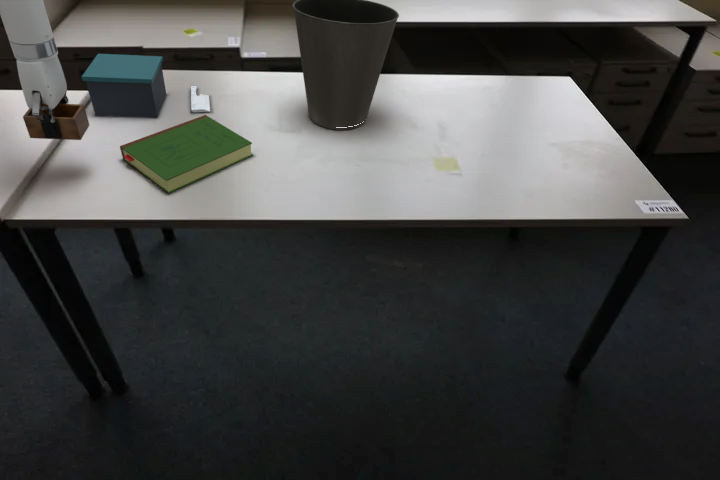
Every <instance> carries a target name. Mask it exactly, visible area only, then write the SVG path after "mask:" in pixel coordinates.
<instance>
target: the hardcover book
mask: <svg viewBox="0 0 720 480" xmlns="http://www.w3.org/2000/svg"><path fill="white" fill-rule="evenodd" d="M252 144H253V143H252V141H250V140H248V139H247V138H245V137H243V136H241V135H240V134H239V133H237V132H235V131H233V130H231V129H230V128H228V127H226V126H225V125H223V124H222V123H220V122H218V121H217V120H215V119H214V118H212V117H210V116H208V115H207V114H203V115H201V116H198V117H195V118H193V119H190V120H188V121H185V122H182V123H179V124H176V125H174V126H172V127H169V128H166V129H163V130H160V131H156V132H154V133H152V134H150V135H146V136H144V137H141V138H139V139H135V140H132V141H129V142H127V143H125V144H122V145H119V149H120V152H121V157H122V160H123V161H124V162H125V163H127V164H128V165H129V166H131V167H132V168H133V169H135V170H136V171H137V172H139V173H140V174H142V176H144V177H146V178H147V179H148V180H150V181H151V182H152V183H153V184H155V185H156V186H157V187H159V188H160V189H162V190H163V191H164V192H166V193H167V194H172V193H174V192H175V191H178V190H180V189H182V188H184V187H187V186H189V185H191V184H193V183H196V182H198V181H200V180H202V179H204V178H207V177H209V176H212V175H213V174H216V173H218V172H220V171H223V170H225V169H226V168H229V167H231V166H233V165H236V164H237V163H238V164H239V163H240V162H242V161H244V160H247V159H249V158H251V157H253V156H254V155H253V154H252Z"/></svg>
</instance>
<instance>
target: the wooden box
mask: <svg viewBox="0 0 720 480" xmlns="http://www.w3.org/2000/svg"><path fill="white" fill-rule="evenodd" d="M42 106H43V107H48V105H46V104H42ZM43 113H44V114H47V115H49V110H43ZM54 114H55V121H58V124H59V127H60V130H61V134H62V138H61V139H60V140H67V141H68V140H70V141H71V140H72V141H81V140H82V139H83V137H84V135H85V134H86V132H87V130H88V129H89V127H90V122H89V118H88V114H87V110H86V106H85V104H81V103H66V104H62V103H58V104H57V106H56V107H55V108H54ZM22 119H23V122H24V124H25V127H26V130H27V133H28V136H29V138H30V139H39V140H41V139H42V140H43V139H44V140H52V139H51V138H46V137H45V135H44V132H43V129H42V126H41V123H40V122H39V121H38V120H37V118H36V117H34V116H33V115H32V109H30V108H29V107H28V109H27V111H26V112H25V113H24V115H22Z"/></svg>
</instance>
